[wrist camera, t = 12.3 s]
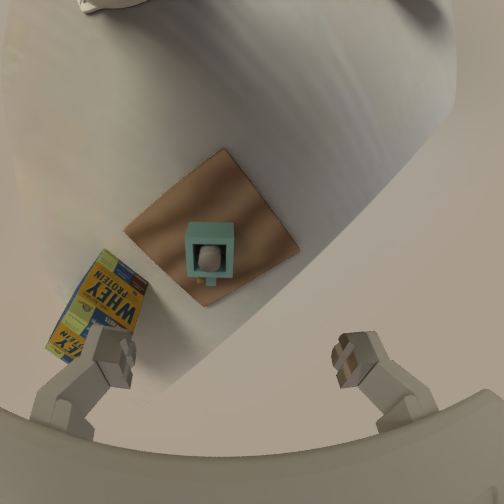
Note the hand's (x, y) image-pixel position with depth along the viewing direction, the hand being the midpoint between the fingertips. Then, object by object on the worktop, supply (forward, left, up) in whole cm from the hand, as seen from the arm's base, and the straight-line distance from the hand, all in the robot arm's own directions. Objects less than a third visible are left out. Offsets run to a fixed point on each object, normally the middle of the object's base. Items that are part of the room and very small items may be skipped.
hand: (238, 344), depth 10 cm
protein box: (+5, -33, -32) cm, 46 cm away
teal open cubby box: (+10, -11, -30) cm, 34 cm away
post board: (+9, -10, -31) cm, 34 cm away
